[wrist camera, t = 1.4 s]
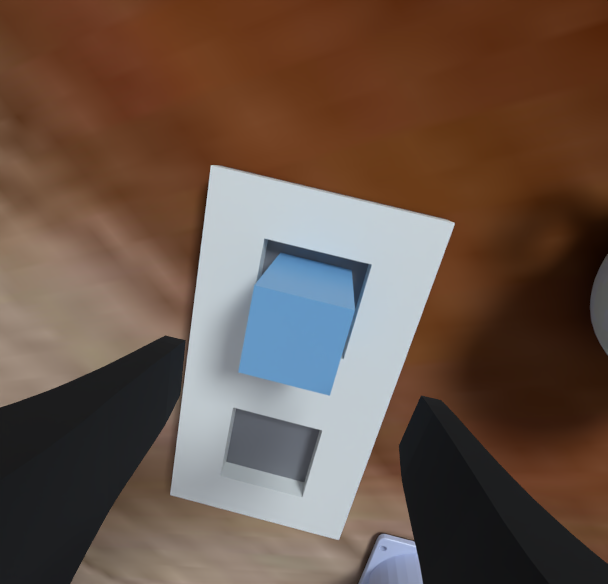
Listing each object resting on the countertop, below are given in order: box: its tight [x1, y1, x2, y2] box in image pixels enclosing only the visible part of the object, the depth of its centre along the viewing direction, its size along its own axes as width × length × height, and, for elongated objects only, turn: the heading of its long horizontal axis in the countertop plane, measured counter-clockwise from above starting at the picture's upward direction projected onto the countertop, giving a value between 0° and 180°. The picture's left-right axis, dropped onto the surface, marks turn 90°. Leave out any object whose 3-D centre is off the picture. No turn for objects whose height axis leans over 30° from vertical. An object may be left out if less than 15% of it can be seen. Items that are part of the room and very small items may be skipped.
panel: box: [170, 165, 455, 540], centre depth 21 cm, size 22×12×2 cm, turn 167°
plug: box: [238, 253, 355, 396], centre depth 17 cm, size 4×4×6 cm
